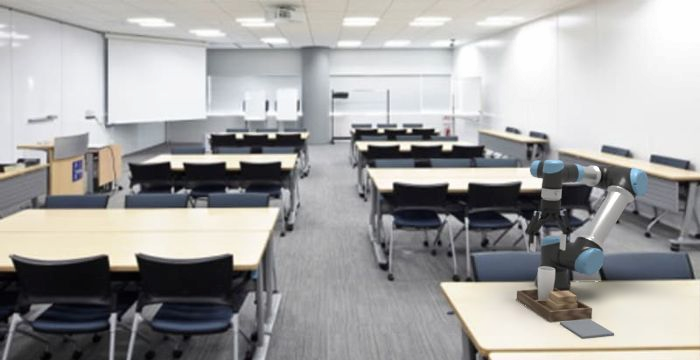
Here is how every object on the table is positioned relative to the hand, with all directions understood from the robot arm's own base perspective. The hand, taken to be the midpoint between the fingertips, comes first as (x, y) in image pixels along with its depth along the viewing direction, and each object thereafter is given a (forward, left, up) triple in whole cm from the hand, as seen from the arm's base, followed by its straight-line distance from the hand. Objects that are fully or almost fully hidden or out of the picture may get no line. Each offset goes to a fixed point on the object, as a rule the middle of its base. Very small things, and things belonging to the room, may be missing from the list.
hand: (547, 250), depth 223 cm
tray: (0, +5, -23) cm, 23 cm away
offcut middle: (0, +12, -20) cm, 23 cm away
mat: (0, +26, -23) cm, 35 cm away
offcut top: (0, +12, -17) cm, 21 cm away
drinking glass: (0, 0, -23) cm, 23 cm away
